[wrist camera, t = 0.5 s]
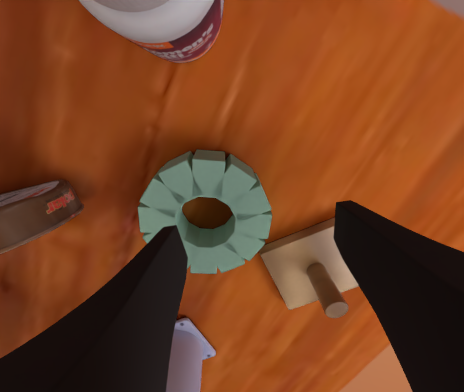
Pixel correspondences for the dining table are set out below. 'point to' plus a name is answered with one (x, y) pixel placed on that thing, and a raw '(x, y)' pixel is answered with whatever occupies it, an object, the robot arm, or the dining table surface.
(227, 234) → the ring
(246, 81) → the dining table surface
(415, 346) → the robot arm
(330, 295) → the peg stand
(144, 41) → the pill bottle
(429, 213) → the dining table surface
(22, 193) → the tin
